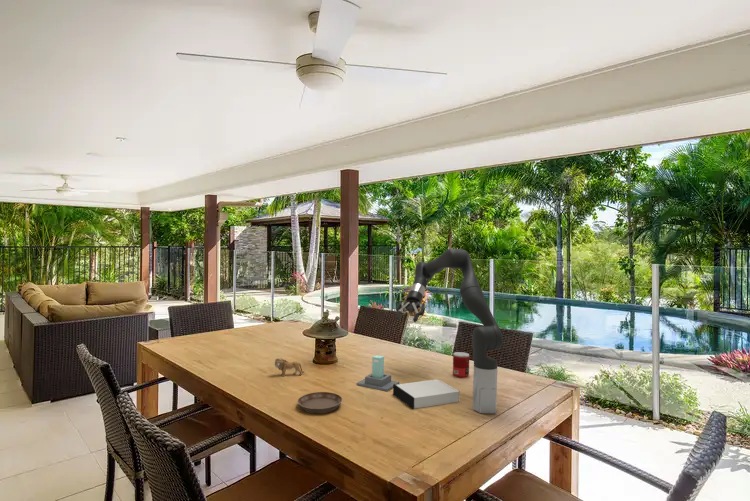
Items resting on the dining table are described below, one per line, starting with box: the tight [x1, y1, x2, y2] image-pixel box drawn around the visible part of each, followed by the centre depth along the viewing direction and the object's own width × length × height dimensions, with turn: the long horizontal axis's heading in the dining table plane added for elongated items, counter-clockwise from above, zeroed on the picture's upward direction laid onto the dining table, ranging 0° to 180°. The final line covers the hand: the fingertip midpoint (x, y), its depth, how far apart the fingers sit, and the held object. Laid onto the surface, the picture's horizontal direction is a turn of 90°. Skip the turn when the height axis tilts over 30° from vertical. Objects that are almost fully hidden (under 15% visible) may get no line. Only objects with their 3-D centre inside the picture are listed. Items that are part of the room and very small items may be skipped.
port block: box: [356, 373, 400, 392], centre depth 197 cm, size 16×12×4 cm
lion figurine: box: [274, 357, 305, 377], centre depth 208 cm, size 15×5×9 cm, turn 112°
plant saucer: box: [297, 391, 343, 414], centre depth 169 cm, size 18×18×3 cm
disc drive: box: [392, 379, 460, 410], centre depth 181 cm, size 18×22×5 cm
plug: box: [371, 354, 385, 379], centre depth 197 cm, size 4×4×12 cm
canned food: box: [452, 351, 470, 379], centre depth 213 cm, size 8×8×11 cm
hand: (406, 320), depth 205 cm, fingers open, 8 cm apart
